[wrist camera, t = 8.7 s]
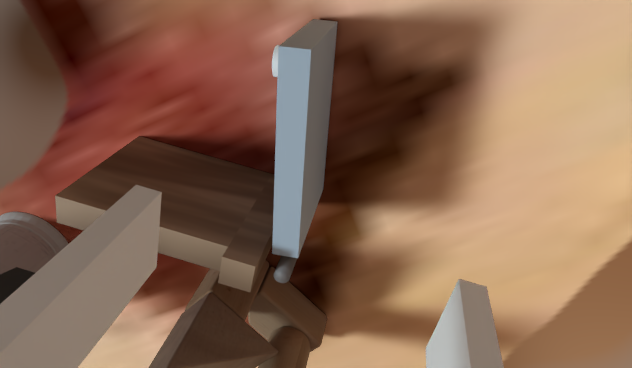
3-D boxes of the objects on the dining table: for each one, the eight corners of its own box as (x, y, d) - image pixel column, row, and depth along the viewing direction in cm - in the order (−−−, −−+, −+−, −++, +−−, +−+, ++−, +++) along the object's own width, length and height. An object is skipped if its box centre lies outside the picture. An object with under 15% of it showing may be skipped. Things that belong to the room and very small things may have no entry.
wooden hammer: (242, 235, 40) (131, 426, 24) (329, 315, 42) (279, 538, 27) (215, 257, 42) (95, 449, 26) (301, 333, 44) (238, 553, 28)
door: (287, 183, 37) (252, 250, 29) (295, 17, 31) (254, 43, 23) (323, 189, 36) (298, 258, 28) (337, 21, 30) (311, 49, 23)
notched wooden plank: (139, 136, 37) (44, 203, 28) (321, 188, 36) (289, 276, 27) (138, 158, 38) (46, 231, 29) (316, 209, 37) (282, 302, 28)
